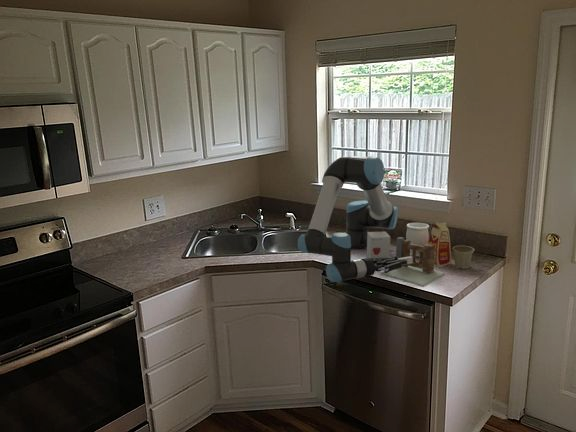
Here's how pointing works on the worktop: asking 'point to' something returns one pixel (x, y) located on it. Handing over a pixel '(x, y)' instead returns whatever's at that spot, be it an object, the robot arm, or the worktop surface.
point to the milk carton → (441, 244)
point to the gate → (425, 255)
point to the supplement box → (378, 245)
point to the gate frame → (411, 270)
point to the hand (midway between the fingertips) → (411, 259)
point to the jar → (417, 235)
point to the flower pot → (462, 256)
